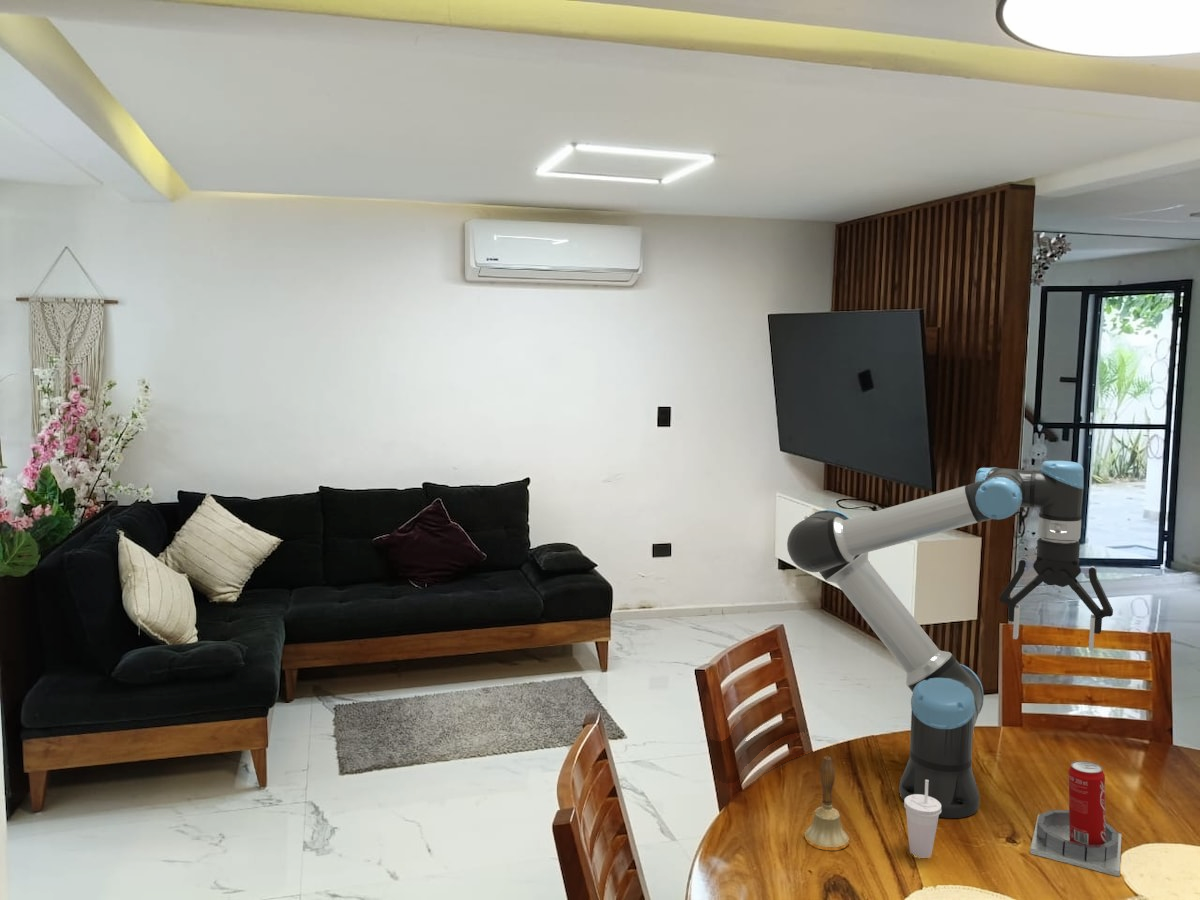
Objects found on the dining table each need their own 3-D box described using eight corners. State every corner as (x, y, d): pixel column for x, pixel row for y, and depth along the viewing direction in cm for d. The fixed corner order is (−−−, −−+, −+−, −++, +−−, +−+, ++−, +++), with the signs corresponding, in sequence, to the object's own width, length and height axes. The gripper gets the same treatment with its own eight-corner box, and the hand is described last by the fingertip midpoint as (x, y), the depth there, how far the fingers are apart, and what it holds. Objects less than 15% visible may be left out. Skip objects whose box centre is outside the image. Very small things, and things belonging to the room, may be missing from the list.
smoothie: (935, 867, 159) (938, 791, 157) (897, 856, 162) (900, 782, 161) (942, 850, 164) (946, 776, 163) (906, 840, 168) (909, 768, 166)
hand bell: (824, 856, 163) (827, 771, 161) (794, 834, 170) (796, 753, 168) (859, 844, 166) (862, 761, 165) (828, 823, 174) (830, 744, 172)
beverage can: (1106, 857, 160) (1111, 777, 158) (1064, 848, 163) (1069, 769, 161) (1104, 841, 165) (1109, 763, 164) (1064, 833, 168) (1069, 756, 167)
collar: (1030, 853, 163) (1031, 835, 163) (1037, 819, 175) (1038, 801, 175) (1119, 876, 156) (1120, 857, 156) (1121, 839, 168) (1122, 821, 168)
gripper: (988, 535, 183) (983, 637, 185) (1131, 550, 170) (1123, 659, 172) (993, 529, 189) (988, 628, 191) (1131, 542, 176) (1124, 648, 179)
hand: (1052, 643), depth 182 cm, fingers open, 13 cm apart
